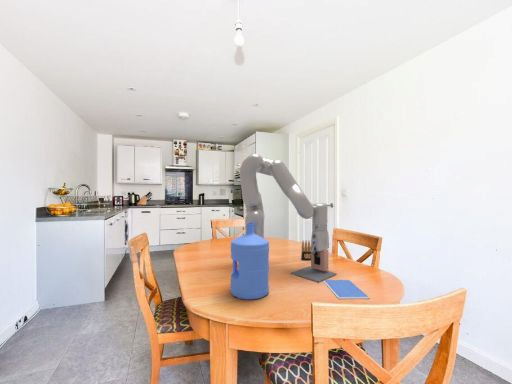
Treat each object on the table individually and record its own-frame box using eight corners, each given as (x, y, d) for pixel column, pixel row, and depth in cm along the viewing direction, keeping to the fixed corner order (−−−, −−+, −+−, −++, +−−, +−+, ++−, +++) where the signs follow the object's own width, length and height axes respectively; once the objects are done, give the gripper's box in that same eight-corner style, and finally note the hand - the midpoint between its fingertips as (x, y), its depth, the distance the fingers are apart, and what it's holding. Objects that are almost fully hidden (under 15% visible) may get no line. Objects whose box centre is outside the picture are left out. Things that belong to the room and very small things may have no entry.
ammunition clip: (318, 259, 150) (318, 239, 149) (319, 260, 148) (319, 240, 148) (301, 259, 150) (301, 239, 149) (301, 260, 148) (301, 240, 148)
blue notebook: (322, 282, 114) (322, 279, 114) (349, 282, 115) (349, 279, 115) (338, 300, 95) (338, 297, 95) (370, 300, 95) (370, 297, 95)
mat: (318, 282, 112) (318, 281, 112) (290, 273, 124) (290, 272, 124) (336, 274, 123) (336, 273, 123) (309, 267, 135) (309, 266, 135)
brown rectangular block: (324, 271, 122) (324, 250, 122) (310, 267, 128) (311, 248, 128) (328, 269, 125) (328, 249, 125) (314, 266, 131) (314, 247, 131)
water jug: (271, 286, 107) (272, 221, 107) (264, 302, 92) (265, 227, 92) (237, 283, 111) (237, 220, 110) (224, 298, 95) (225, 225, 95)
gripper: (316, 230, 118) (316, 268, 118) (334, 226, 129) (334, 262, 129) (303, 228, 124) (303, 265, 124) (322, 225, 135) (322, 259, 135)
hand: (319, 263), depth 127 cm, fingers closed on brown rectangular block, 3 cm apart
